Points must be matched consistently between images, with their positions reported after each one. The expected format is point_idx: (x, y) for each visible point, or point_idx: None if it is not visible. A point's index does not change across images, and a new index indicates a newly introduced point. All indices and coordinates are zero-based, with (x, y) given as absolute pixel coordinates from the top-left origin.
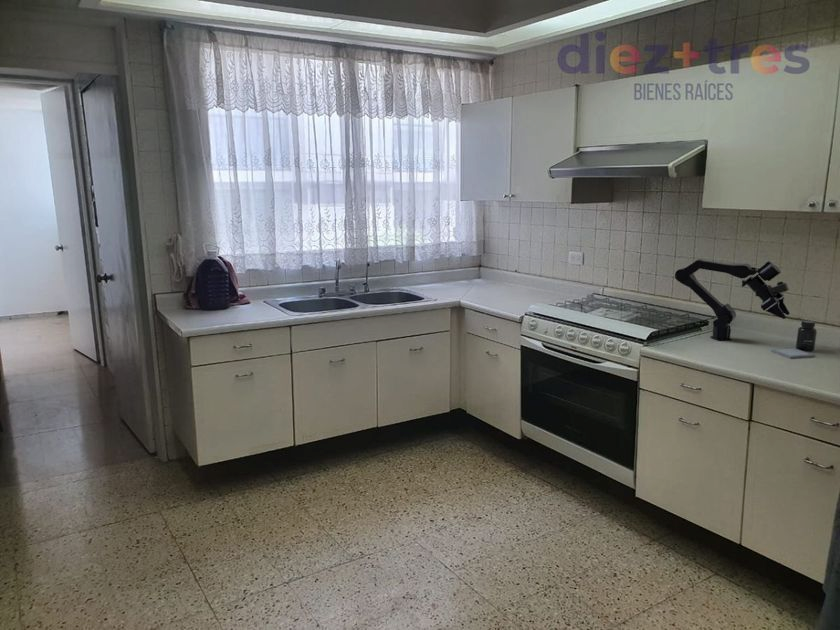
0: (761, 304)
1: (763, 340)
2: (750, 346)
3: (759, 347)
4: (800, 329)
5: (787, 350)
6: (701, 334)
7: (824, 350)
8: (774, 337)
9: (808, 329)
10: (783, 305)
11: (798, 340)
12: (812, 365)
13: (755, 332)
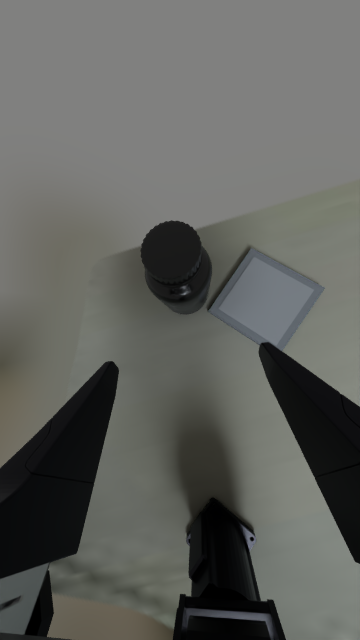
0: None
1: (151, 410)
2: (254, 421)
3: (247, 395)
4: (203, 285)
5: (255, 315)
6: None
7: None
8: None
9: (202, 253)
10: (63, 445)
11: (203, 299)
12: (349, 226)
13: None
